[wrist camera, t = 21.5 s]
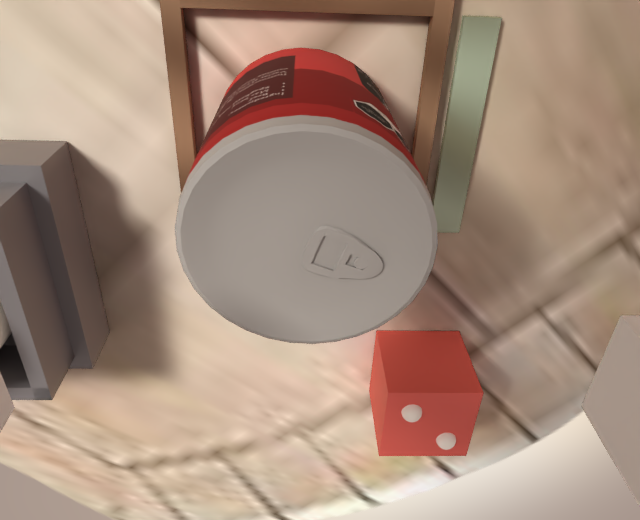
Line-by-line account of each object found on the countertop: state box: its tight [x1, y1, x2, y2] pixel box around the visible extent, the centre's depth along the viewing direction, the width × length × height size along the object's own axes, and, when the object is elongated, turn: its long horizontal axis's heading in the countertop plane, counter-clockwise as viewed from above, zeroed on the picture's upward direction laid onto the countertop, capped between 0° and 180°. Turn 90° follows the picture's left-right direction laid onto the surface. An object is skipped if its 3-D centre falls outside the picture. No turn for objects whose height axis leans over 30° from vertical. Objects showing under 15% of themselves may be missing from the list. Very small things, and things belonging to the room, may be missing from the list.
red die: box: [369, 331, 483, 456], centre depth 31 cm, size 5×5×6 cm
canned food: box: [175, 48, 438, 344], centre depth 21 cm, size 8×8×11 cm
